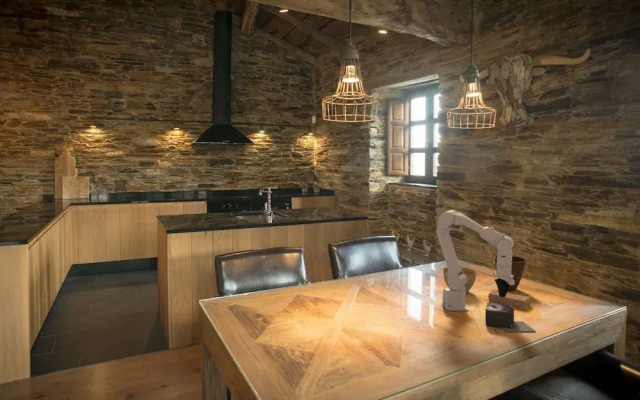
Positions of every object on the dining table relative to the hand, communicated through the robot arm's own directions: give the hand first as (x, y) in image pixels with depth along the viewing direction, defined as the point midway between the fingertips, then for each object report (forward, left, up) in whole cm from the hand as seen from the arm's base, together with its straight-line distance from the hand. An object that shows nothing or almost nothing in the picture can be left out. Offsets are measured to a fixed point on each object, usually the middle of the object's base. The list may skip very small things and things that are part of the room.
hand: (502, 296), depth 176 cm
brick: (+12, +17, -10) cm, 23 cm away
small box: (-2, -2, -5) cm, 6 cm away
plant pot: (+23, +39, -9) cm, 46 cm away
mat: (0, -11, -9) cm, 14 cm away
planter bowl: (-5, +35, -9) cm, 36 cm away
